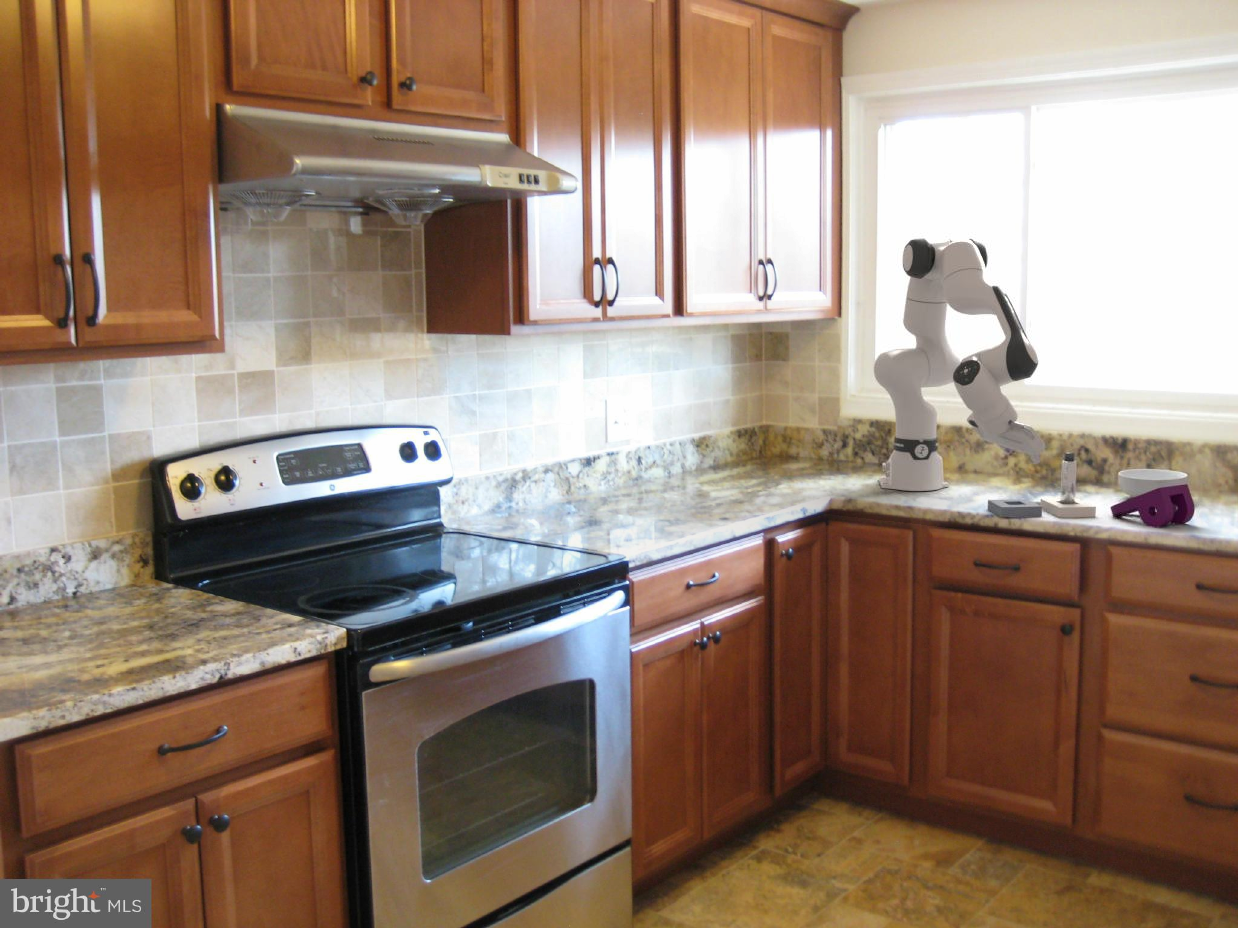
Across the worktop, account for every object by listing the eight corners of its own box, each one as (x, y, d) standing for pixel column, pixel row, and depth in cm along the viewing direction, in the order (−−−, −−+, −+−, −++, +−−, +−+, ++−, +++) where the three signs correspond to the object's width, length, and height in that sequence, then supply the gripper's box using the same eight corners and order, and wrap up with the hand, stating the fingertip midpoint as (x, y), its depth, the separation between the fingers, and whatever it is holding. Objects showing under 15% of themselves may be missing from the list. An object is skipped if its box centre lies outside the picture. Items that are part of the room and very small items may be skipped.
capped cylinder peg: (1057, 511, 302) (1060, 452, 300) (1071, 511, 302) (1073, 451, 300) (1063, 514, 299) (1065, 454, 296) (1076, 513, 299) (1079, 453, 297)
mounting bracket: (1112, 542, 293) (1170, 522, 278) (1102, 509, 295) (1159, 487, 280) (1140, 538, 297) (1199, 518, 282) (1129, 505, 299) (1187, 484, 284)
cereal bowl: (1121, 492, 327) (1122, 466, 326) (1189, 497, 318) (1190, 470, 317) (1112, 503, 312) (1114, 476, 311) (1183, 508, 304) (1185, 480, 303)
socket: (987, 509, 306) (987, 499, 305) (1026, 508, 306) (1026, 499, 306) (1001, 517, 296) (1001, 507, 296) (1041, 516, 296) (1042, 506, 296)
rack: (1040, 508, 306) (1040, 498, 306) (1075, 507, 307) (1075, 497, 306) (1059, 517, 294) (1059, 507, 294) (1095, 516, 295) (1095, 506, 294)
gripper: (1035, 416, 280) (1062, 457, 286) (978, 401, 299) (1004, 439, 305) (1017, 435, 280) (1044, 476, 286) (961, 419, 298) (988, 457, 304)
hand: (1023, 457), depth 295 cm, fingers open, 8 cm apart
